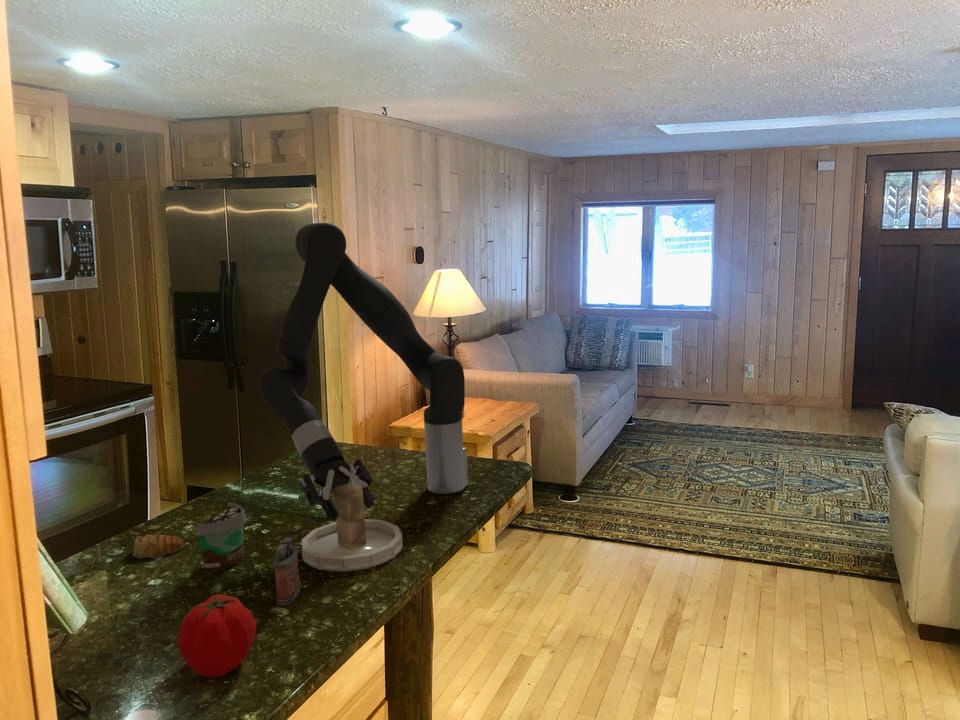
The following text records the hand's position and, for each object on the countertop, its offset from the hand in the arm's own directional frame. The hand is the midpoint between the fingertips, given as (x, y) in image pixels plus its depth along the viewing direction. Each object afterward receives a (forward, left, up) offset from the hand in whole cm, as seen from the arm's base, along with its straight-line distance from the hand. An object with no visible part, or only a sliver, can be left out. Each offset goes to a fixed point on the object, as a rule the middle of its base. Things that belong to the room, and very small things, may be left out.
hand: (353, 512), depth 152 cm
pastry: (+27, -33, -9) cm, 43 cm away
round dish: (0, -1, -8) cm, 8 cm away
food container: (+19, -15, -8) cm, 26 cm away
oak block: (0, -1, -7) cm, 7 cm away
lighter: (+19, +6, -8) cm, 22 cm away
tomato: (+38, +18, -8) cm, 43 cm away
